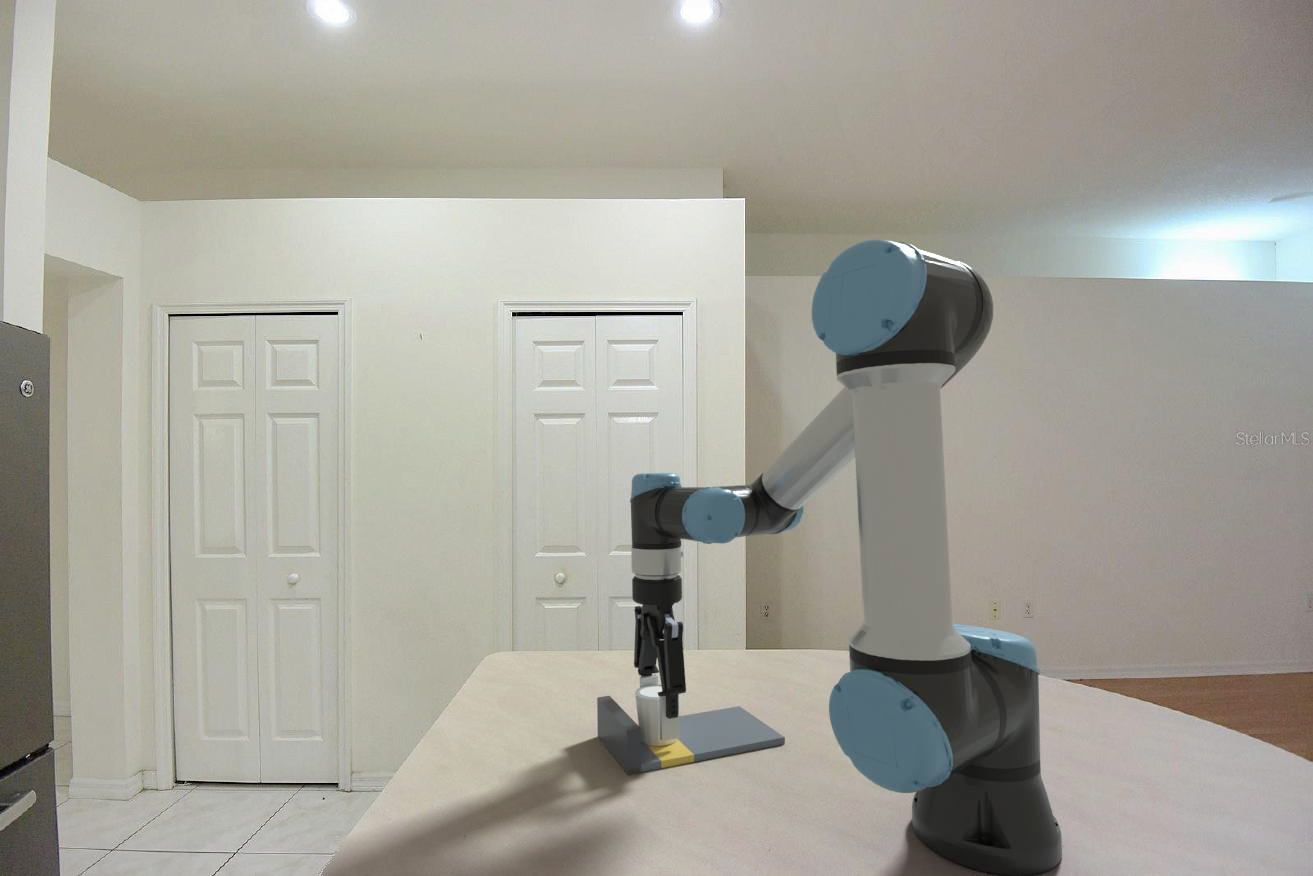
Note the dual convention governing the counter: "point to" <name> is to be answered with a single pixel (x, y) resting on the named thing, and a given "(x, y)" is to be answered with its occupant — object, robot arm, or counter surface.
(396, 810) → the counter surface
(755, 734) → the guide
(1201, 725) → the counter surface
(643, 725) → the shot glass
